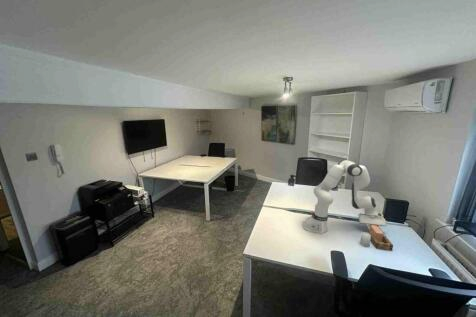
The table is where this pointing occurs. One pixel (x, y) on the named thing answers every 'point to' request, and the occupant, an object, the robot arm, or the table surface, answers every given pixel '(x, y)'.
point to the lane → (378, 245)
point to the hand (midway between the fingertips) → (373, 230)
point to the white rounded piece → (365, 239)
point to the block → (376, 232)
